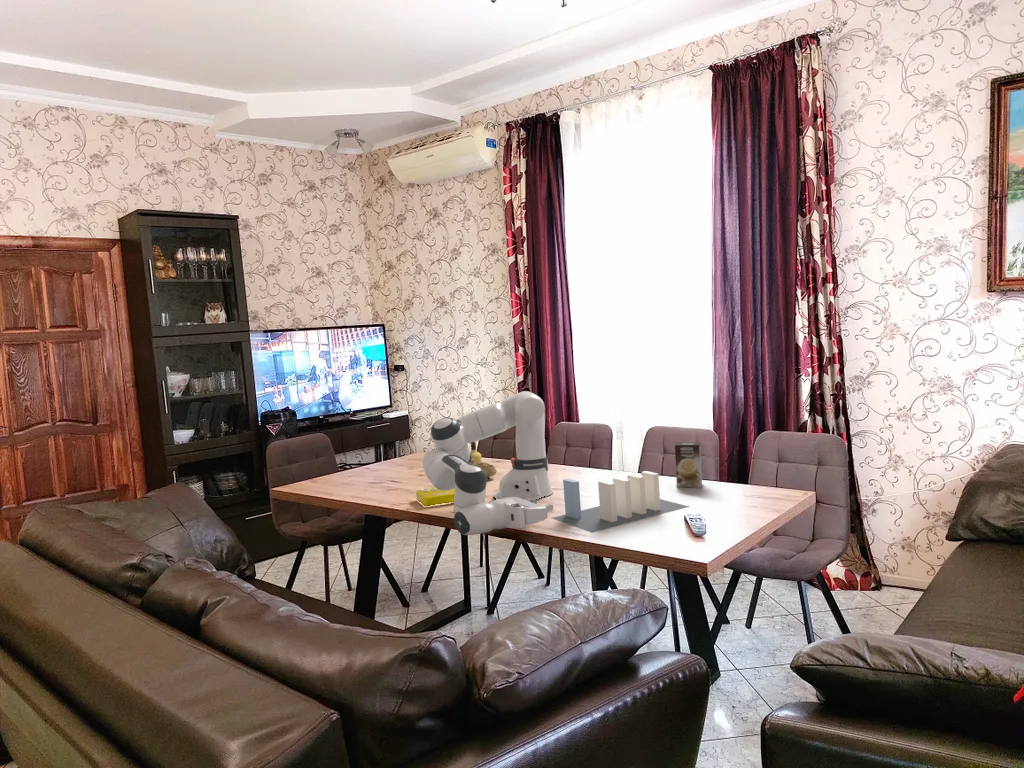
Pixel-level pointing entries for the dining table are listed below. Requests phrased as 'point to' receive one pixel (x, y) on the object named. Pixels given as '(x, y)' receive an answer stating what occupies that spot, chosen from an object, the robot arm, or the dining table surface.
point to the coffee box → (688, 464)
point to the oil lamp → (485, 467)
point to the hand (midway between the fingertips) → (543, 504)
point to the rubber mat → (594, 522)
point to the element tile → (435, 496)
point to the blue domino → (572, 498)
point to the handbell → (475, 453)
